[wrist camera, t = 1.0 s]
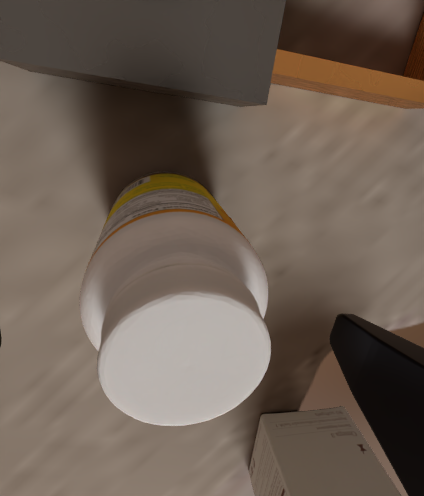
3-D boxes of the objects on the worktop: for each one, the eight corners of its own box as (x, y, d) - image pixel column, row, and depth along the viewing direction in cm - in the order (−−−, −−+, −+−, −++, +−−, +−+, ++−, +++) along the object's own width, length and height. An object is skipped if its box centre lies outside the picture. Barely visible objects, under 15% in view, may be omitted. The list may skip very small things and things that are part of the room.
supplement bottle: (208, 273, 18) (272, 445, 8) (108, 265, 16) (54, 459, 7) (227, 176, 16) (337, 265, 6) (114, 159, 14) (49, 240, 5)
